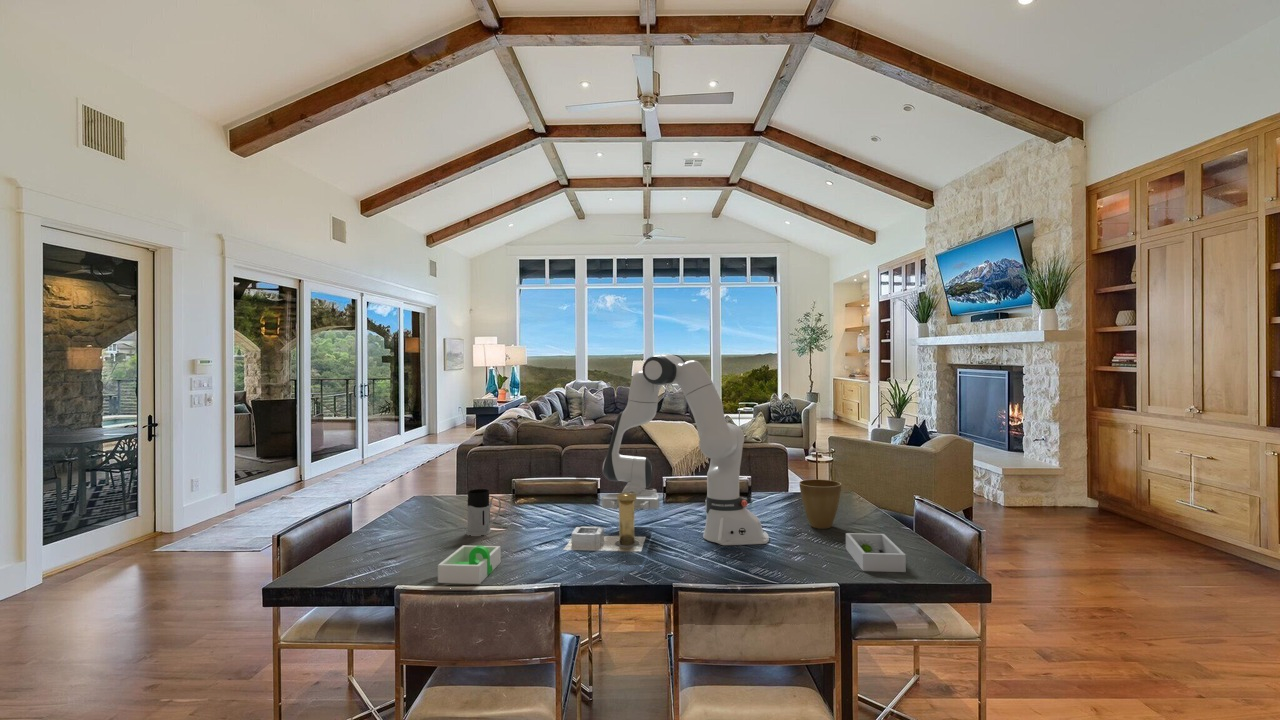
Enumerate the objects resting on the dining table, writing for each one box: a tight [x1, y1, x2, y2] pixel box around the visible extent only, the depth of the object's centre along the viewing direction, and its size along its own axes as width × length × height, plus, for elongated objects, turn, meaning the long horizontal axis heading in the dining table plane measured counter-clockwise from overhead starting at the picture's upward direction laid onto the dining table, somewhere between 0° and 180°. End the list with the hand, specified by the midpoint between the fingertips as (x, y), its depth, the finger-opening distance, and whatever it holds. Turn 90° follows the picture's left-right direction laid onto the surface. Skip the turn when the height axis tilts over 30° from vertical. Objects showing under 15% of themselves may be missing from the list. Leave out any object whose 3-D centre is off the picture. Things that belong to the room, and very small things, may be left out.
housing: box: [563, 525, 647, 553], centre depth 201 cm, size 25×16×6 cm, turn 84°
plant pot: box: [798, 478, 842, 530], centre depth 224 cm, size 15×15×16 cm
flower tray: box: [845, 532, 907, 573], centre depth 186 cm, size 12×21×5 cm, turn 174°
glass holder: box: [466, 488, 502, 537], centre depth 218 cm, size 9×14×15 cm, turn 64°
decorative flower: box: [856, 539, 881, 553], centre depth 185 cm, size 8×6×15 cm
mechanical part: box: [456, 545, 494, 576], centre depth 179 cm, size 12×6×8 cm, turn 87°
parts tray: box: [437, 544, 502, 585], centre depth 179 cm, size 12×18×5 cm, turn 174°
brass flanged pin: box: [616, 492, 636, 545], centre depth 200 cm, size 6×6×16 cm
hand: (628, 507), depth 205 cm, fingers open, 8 cm apart
